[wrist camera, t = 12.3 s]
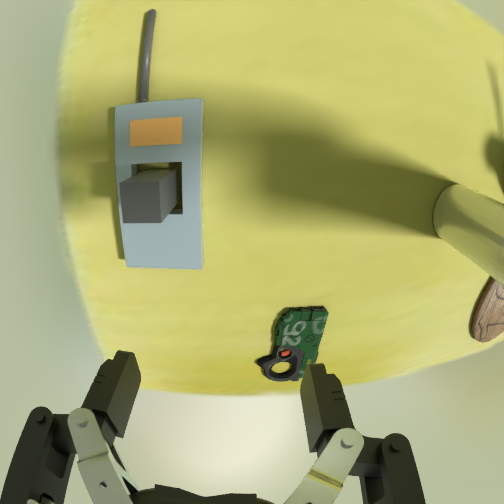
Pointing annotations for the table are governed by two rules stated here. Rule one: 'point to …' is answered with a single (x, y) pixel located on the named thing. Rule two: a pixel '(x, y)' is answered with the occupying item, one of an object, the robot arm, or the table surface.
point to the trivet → (489, 313)
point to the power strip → (156, 151)
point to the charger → (149, 196)
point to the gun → (295, 343)
